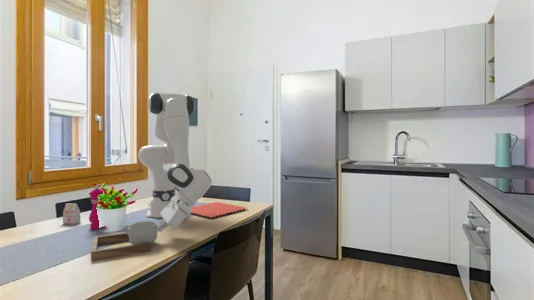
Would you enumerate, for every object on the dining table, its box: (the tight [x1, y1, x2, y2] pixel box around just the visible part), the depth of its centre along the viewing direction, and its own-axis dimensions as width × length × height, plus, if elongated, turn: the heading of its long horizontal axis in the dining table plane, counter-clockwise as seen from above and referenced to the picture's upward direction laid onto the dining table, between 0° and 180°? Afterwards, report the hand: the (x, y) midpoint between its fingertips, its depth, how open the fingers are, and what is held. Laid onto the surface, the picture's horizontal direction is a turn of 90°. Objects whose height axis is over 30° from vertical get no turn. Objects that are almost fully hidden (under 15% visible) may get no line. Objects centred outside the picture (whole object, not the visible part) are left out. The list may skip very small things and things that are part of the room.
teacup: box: [123, 220, 158, 245], centre depth 120 cm, size 14×11×8 cm
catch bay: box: [90, 232, 153, 262], centre depth 116 cm, size 19×20×3 cm
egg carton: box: [191, 201, 248, 219], centre depth 177 cm, size 28×28×2 cm
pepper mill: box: [88, 185, 104, 230], centre depth 144 cm, size 7×7×20 cm
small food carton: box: [62, 202, 81, 225], centre depth 152 cm, size 4×7×10 cm, turn 77°
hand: (157, 230), depth 122 cm, fingers closed, pressing on teacup
